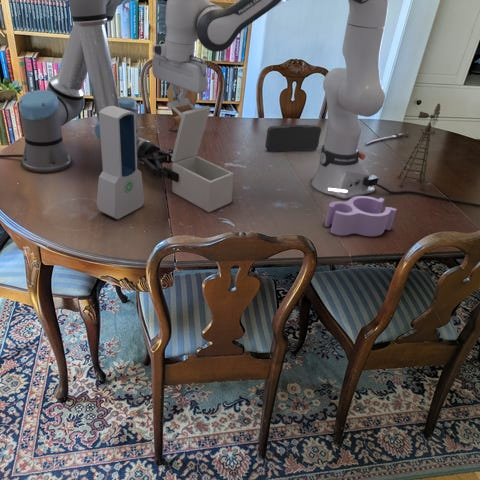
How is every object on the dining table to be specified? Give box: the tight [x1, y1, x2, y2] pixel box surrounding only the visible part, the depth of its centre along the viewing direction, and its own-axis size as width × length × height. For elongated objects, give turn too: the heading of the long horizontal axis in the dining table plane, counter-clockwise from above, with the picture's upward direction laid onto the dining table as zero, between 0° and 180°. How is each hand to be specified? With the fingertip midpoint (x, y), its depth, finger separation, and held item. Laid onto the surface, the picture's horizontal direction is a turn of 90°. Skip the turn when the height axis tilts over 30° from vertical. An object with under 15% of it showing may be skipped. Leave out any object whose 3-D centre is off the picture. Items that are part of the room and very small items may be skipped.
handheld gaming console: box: [264, 124, 322, 152], centre depth 189 cm, size 23×3×10 cm, turn 108°
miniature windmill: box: [398, 102, 441, 191], centre depth 166 cm, size 9×8×30 cm
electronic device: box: [96, 106, 145, 220], centre depth 130 cm, size 12×8×30 cm, turn 148°
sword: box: [366, 133, 410, 146], centre depth 213 cm, size 31×3×1 cm, turn 126°
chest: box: [171, 155, 235, 213], centre depth 147 cm, size 17×10×10 cm, turn 48°
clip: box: [324, 195, 398, 237], centre depth 141 cm, size 20×12×7 cm, turn 109°
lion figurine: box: [168, 115, 181, 132], centre depth 195 cm, size 15×5×9 cm, turn 110°
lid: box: [166, 97, 212, 162], centre depth 144 cm, size 18×10×9 cm
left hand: (190, 173), depth 149 cm, fingers closed on chest, 10 cm apart
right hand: (178, 100), depth 141 cm, fingers closed, pressing on lid
